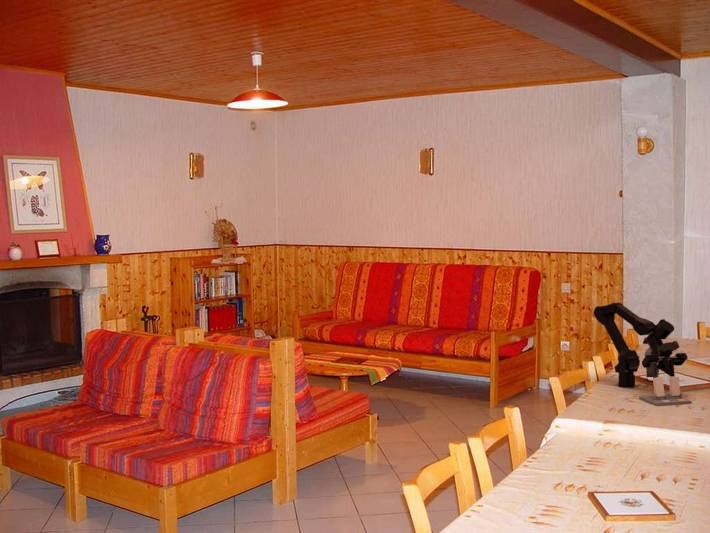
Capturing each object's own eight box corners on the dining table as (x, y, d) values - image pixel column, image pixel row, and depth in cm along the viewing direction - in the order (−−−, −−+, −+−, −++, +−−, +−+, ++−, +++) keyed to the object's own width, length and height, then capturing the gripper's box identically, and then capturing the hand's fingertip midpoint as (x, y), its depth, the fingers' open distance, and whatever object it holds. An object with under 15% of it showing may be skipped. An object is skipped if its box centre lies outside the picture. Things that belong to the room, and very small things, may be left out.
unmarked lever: (654, 398, 335) (652, 377, 337) (663, 397, 336) (660, 377, 337) (656, 398, 334) (654, 377, 335) (665, 397, 335) (662, 377, 336)
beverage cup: (658, 379, 378) (659, 336, 377) (662, 382, 371) (663, 338, 369) (642, 379, 379) (643, 335, 377) (646, 382, 372) (647, 338, 370)
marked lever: (669, 397, 337) (669, 376, 337) (677, 396, 338) (677, 376, 338) (671, 397, 336) (671, 377, 336) (680, 397, 336) (679, 376, 337)
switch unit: (639, 399, 340) (639, 392, 339) (673, 396, 343) (673, 389, 343) (656, 406, 328) (656, 398, 328) (691, 403, 332) (691, 396, 332)
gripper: (645, 335, 340) (661, 366, 330) (685, 333, 344) (702, 363, 334) (634, 351, 348) (650, 382, 338) (673, 349, 352) (689, 379, 342)
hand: (673, 376), depth 338 cm, fingers closed, pressing on marked lever
